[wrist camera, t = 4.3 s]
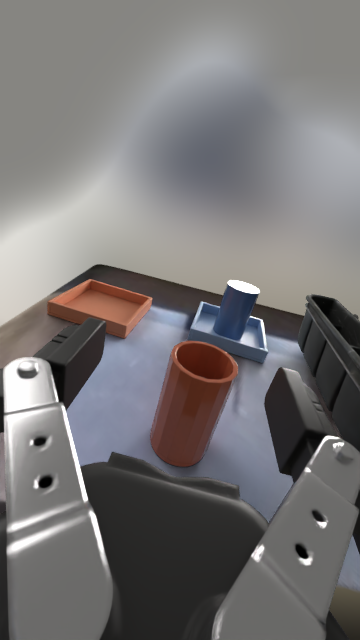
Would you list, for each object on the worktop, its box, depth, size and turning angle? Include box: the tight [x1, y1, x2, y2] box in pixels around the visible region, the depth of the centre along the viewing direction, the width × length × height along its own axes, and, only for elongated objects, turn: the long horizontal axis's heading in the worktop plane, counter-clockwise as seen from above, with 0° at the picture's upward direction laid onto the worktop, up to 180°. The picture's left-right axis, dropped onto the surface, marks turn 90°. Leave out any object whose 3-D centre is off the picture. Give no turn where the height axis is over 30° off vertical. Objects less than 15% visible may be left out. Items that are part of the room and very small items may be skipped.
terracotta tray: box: [47, 279, 152, 339], centre depth 52 cm, size 14×14×2 cm
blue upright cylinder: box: [213, 280, 260, 340], centre depth 53 cm, size 6×6×10 cm
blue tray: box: [187, 302, 268, 363], centre depth 55 cm, size 14×14×2 cm
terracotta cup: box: [150, 341, 238, 467], centre depth 27 cm, size 6×6×11 cm
